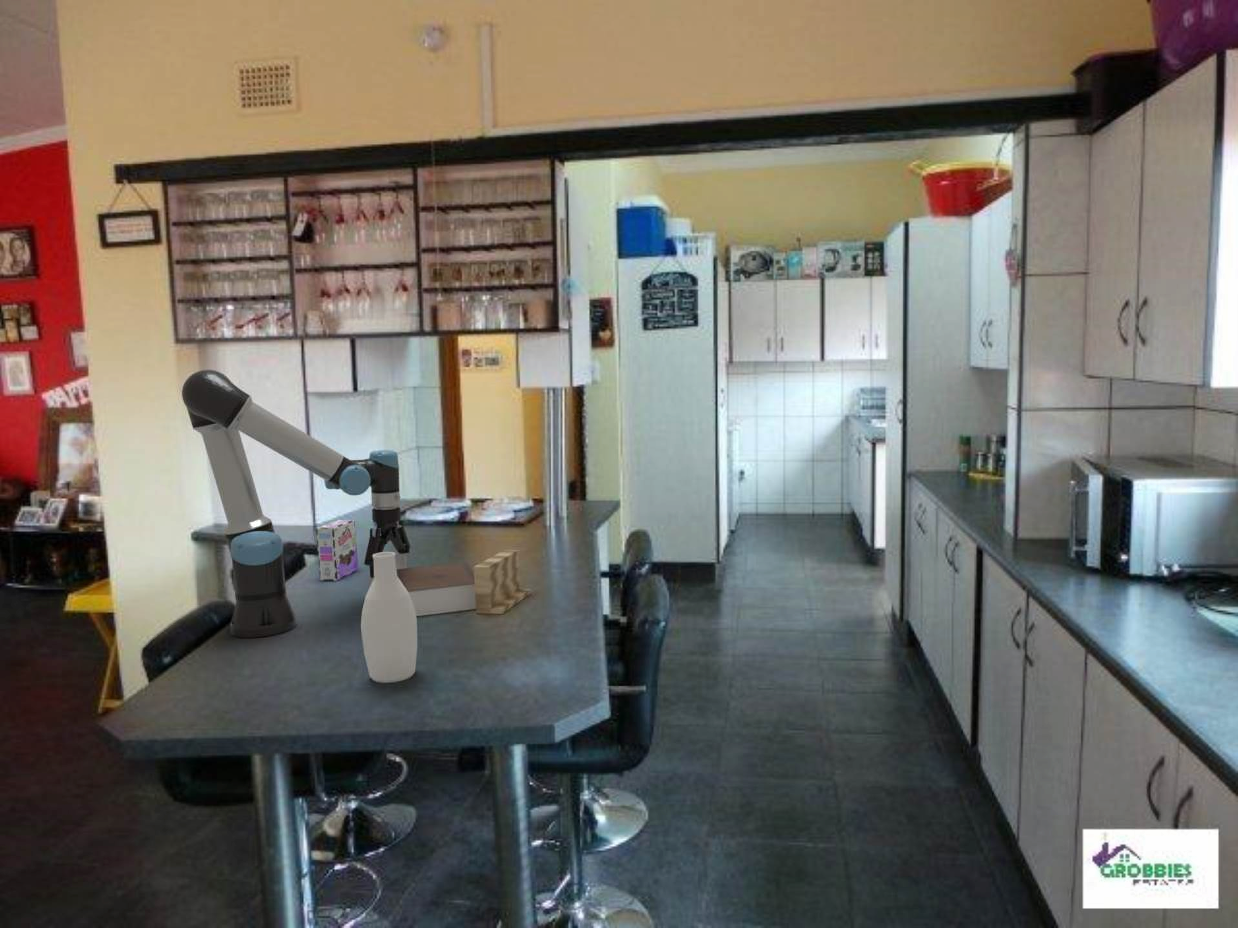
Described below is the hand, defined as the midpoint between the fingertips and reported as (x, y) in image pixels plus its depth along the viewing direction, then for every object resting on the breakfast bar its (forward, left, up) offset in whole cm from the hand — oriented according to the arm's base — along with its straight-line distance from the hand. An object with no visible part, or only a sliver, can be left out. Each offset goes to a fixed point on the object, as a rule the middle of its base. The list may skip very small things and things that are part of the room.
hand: (389, 582), depth 247 cm
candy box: (+21, +29, -4) cm, 36 cm away
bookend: (-2, -35, -4) cm, 35 cm away
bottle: (-57, -34, -4) cm, 67 cm away
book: (-2, -13, -4) cm, 14 cm away
